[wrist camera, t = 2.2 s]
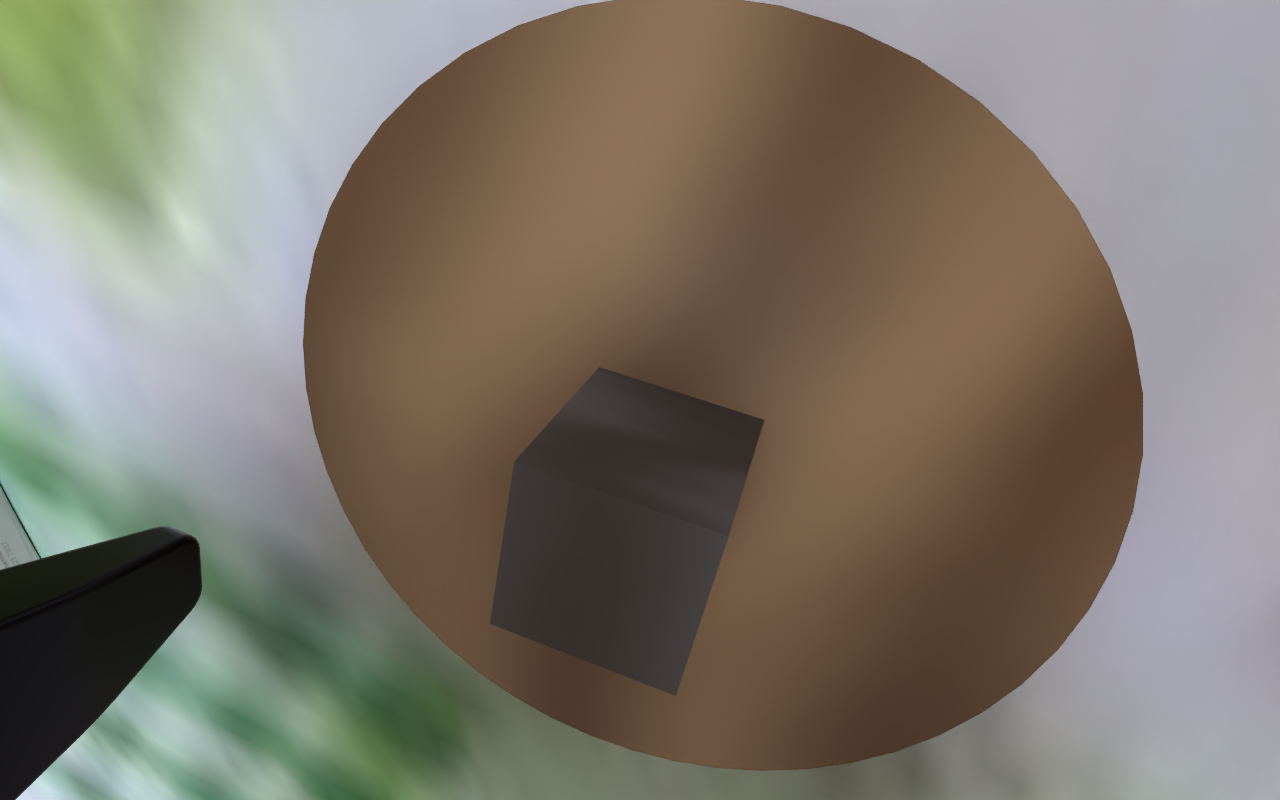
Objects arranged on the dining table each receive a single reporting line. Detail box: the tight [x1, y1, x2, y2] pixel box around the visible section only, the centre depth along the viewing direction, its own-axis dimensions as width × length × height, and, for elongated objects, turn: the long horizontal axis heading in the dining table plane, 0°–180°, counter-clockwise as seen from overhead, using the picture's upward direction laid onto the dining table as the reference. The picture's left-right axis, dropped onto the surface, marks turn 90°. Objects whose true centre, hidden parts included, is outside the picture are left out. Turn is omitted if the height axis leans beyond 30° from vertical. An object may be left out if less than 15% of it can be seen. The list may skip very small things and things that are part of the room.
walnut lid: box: [303, 0, 1143, 771], centre depth 12 cm, size 15×15×4 cm
